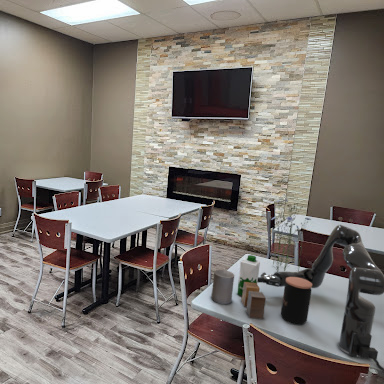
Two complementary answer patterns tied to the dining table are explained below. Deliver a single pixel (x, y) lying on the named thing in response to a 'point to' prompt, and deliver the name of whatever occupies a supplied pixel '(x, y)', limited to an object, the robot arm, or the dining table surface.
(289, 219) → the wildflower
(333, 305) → the dining table surface
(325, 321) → the dining table surface
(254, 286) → the oak block
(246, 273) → the milk carton
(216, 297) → the pillar candle
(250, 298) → the walnut block
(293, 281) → the coffee jar
